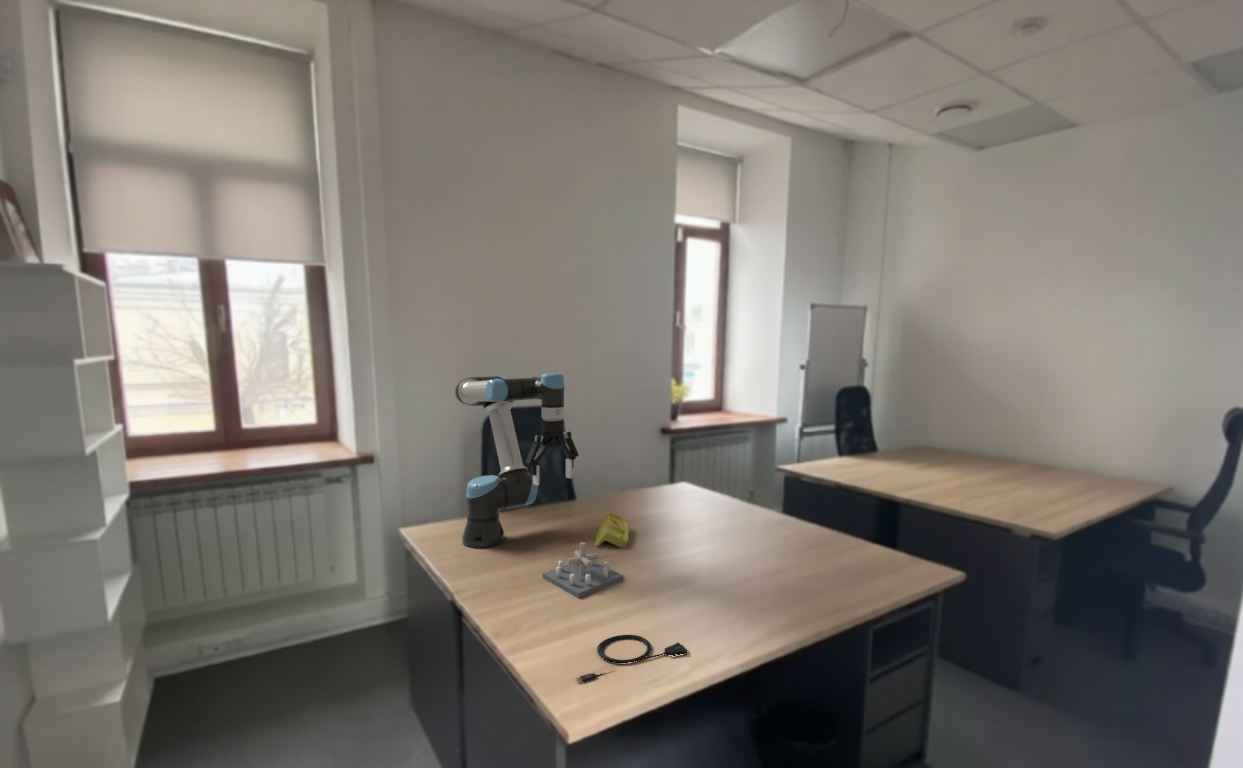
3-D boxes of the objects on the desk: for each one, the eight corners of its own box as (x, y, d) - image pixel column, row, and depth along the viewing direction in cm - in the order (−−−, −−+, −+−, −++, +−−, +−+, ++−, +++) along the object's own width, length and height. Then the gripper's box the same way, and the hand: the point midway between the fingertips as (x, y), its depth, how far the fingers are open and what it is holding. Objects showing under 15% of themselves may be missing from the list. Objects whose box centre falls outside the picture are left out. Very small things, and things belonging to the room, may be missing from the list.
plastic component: (628, 542, 194) (603, 530, 194) (619, 559, 196) (594, 548, 195) (628, 520, 214) (606, 509, 214) (620, 536, 215) (598, 525, 215)
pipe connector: (574, 583, 163) (574, 551, 162) (562, 571, 172) (561, 540, 171) (604, 577, 167) (604, 545, 166) (590, 565, 176) (590, 535, 175)
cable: (559, 653, 130) (559, 647, 130) (662, 628, 142) (662, 623, 142) (578, 686, 118) (578, 680, 118) (689, 656, 129) (689, 650, 129)
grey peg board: (542, 578, 170) (542, 564, 170) (586, 562, 182) (586, 549, 182) (578, 598, 157) (578, 583, 156) (623, 579, 169) (623, 566, 169)
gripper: (527, 424, 171) (527, 490, 173) (588, 417, 188) (588, 477, 190) (514, 421, 176) (515, 485, 178) (575, 414, 193) (575, 473, 195)
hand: (552, 481), depth 184 cm, fingers open, 13 cm apart
